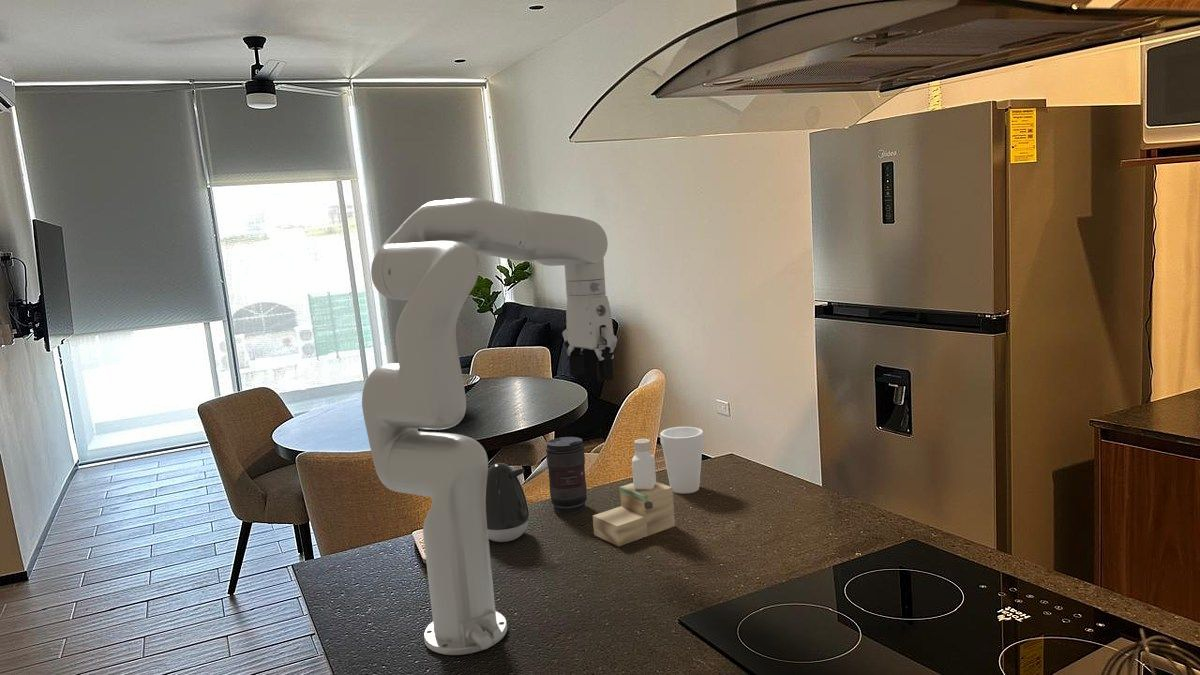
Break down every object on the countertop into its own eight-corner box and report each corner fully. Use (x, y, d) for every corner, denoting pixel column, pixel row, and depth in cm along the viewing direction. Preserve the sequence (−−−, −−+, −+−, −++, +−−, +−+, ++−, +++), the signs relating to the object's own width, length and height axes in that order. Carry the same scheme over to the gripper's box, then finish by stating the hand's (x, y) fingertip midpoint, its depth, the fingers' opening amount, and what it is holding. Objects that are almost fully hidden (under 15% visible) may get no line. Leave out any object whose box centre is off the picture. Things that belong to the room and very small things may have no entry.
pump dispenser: (519, 549, 159) (512, 472, 157) (470, 545, 163) (463, 470, 160) (540, 528, 169) (533, 456, 167) (493, 526, 172) (486, 455, 170)
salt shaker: (637, 483, 167) (633, 438, 166) (656, 483, 167) (653, 437, 165) (633, 490, 164) (630, 443, 162) (653, 490, 163) (650, 443, 161)
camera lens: (595, 504, 181) (590, 437, 178) (574, 517, 174) (569, 447, 172) (565, 499, 185) (559, 434, 183) (543, 512, 178) (537, 444, 176)
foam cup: (661, 496, 183) (658, 438, 181) (665, 482, 192) (661, 427, 190) (705, 495, 181) (702, 437, 179) (707, 481, 190) (703, 426, 188)
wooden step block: (678, 527, 164) (675, 488, 163) (621, 548, 156) (619, 507, 155) (649, 515, 172) (646, 478, 170) (593, 534, 164) (590, 495, 162)
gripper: (628, 288, 154) (633, 379, 156) (577, 286, 168) (583, 370, 170) (594, 292, 150) (600, 385, 152) (545, 289, 164) (551, 375, 166)
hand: (591, 377), depth 161 cm, fingers open, 9 cm apart
